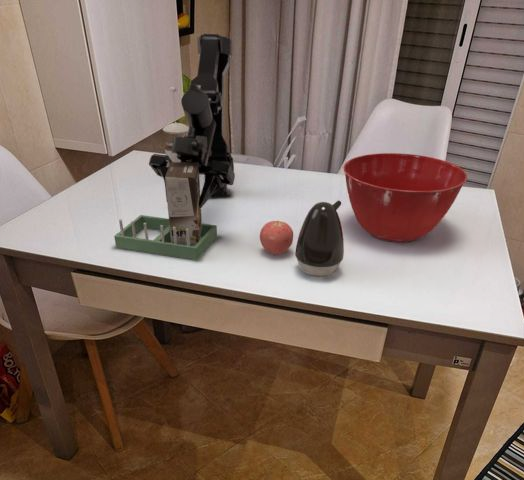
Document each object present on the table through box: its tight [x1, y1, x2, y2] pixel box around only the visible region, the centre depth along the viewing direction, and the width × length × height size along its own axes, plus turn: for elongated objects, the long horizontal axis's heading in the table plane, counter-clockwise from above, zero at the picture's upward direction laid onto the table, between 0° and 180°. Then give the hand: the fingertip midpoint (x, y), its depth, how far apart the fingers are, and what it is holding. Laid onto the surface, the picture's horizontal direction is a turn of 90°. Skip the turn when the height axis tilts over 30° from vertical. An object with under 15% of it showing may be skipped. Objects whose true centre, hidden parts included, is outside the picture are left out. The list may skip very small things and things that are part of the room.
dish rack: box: [113, 214, 218, 261], centre depth 116 cm, size 13×20×7 cm, turn 74°
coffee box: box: [165, 162, 203, 246], centre depth 111 cm, size 9×6×16 cm
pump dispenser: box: [294, 200, 345, 277], centre depth 103 cm, size 10×10×15 cm
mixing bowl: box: [343, 152, 468, 243], centre depth 121 cm, size 28×28×16 cm
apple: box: [259, 220, 294, 256], centre depth 112 cm, size 7×7×8 cm
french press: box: [162, 86, 189, 162], centre depth 150 cm, size 10×12×25 cm
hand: (183, 205), depth 111 cm, fingers closed on coffee box, 7 cm apart
